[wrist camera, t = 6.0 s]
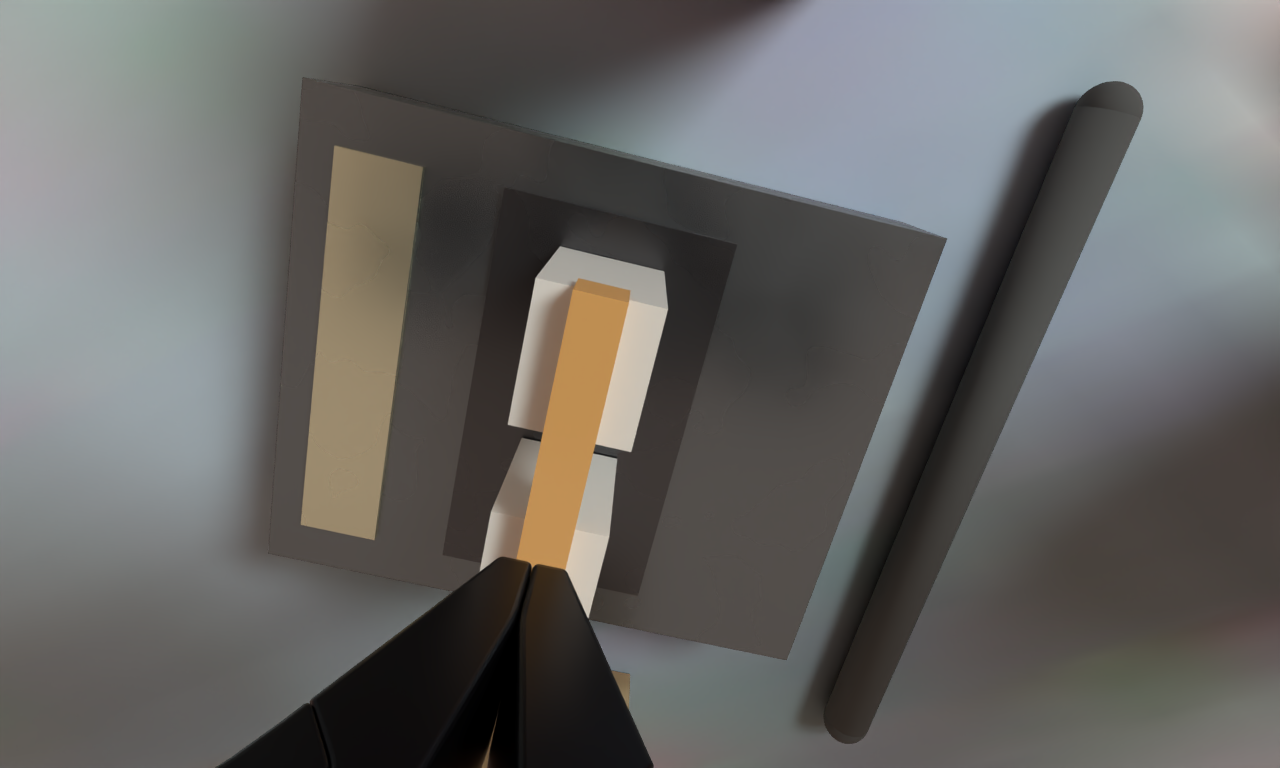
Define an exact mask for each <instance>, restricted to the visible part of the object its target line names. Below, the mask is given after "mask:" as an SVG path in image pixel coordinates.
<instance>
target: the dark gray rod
mask: <svg viewBox="0 0 1280 768" xmlns="http://www.w3.org/2000/svg"><path fill="white" fill-rule="evenodd" d="M1142 114H1143V101H1142V98H1141V95H1140V94H1139V92H1138V91H1137V90H1136V89H1135V88H1134V87H1132V86H1131V85H1129V84H1127V83H1124V82H1118V81H1113V82H1105V83H1102V84H1099V85H1097V86H1095V87H1093V88H1091V89H1090V90H1088V91H1087V92H1086V93H1085V94H1084V95H1082V97H1081V98H1080V99H1079V100H1078V102H1077V104H1076V106H1075V108H1074V110H1073V112H1072V115H1071V117H1070V119H1069V122H1068V124H1067V127H1066V129H1065V131H1064V134H1063V136H1062V139H1061V141H1060V144H1059V146H1058V148H1057V151H1056V153H1055V156H1054V158H1053V160H1052V163H1051V165H1050V168H1049V170H1048V172H1047V175H1046V177H1045V180H1044V182H1043V185H1042V187H1041V189H1040V192H1039V194H1038V197H1037V199H1036V201H1035V204H1034V206H1033V209H1032V211H1031V213H1030V216H1029V218H1028V221H1027V223H1026V226H1025V228H1024V230H1023V233H1022V235H1021V238H1020V240H1019V242H1018V245H1017V247H1016V250H1015V252H1014V254H1013V257H1012V259H1011V262H1010V264H1009V266H1008V269H1007V271H1006V274H1005V276H1004V279H1003V281H1002V283H1001V286H1000V288H999V291H998V293H997V295H996V298H995V300H994V303H993V305H992V307H991V310H990V312H989V315H988V317H987V320H986V322H985V324H984V327H983V329H982V332H981V334H980V336H979V339H978V341H977V344H976V346H975V348H974V351H973V353H972V356H971V358H970V361H969V363H968V365H967V368H966V370H965V373H964V375H963V377H962V380H961V382H960V385H959V387H958V389H957V392H956V394H955V397H954V399H953V402H952V404H951V406H950V409H949V411H948V414H947V416H946V418H945V421H944V423H943V426H942V428H941V430H940V433H939V435H938V438H937V440H936V442H935V445H934V447H933V450H932V452H931V455H930V457H929V459H928V462H927V464H926V467H925V469H924V471H923V474H922V476H921V479H920V481H919V483H918V486H917V488H916V491H915V493H914V496H913V498H912V500H911V503H910V505H909V508H908V510H907V512H906V515H905V517H904V520H903V522H902V524H901V527H900V529H899V532H898V534H897V537H896V539H895V541H894V544H893V546H892V549H891V551H890V553H889V556H888V558H887V561H886V563H885V565H884V568H883V570H882V573H881V575H880V578H879V580H878V582H877V585H876V587H875V590H874V592H873V594H872V597H871V599H870V602H869V604H868V606H867V609H866V611H865V614H864V616H863V618H862V621H861V623H860V626H859V628H858V631H857V633H856V635H855V638H854V640H853V643H852V645H851V647H850V650H849V652H848V655H847V657H846V659H845V662H844V664H843V667H842V669H841V672H840V674H839V676H838V679H837V681H836V684H835V686H834V688H833V691H832V693H831V696H830V698H829V700H828V703H827V705H826V708H825V711H824V723H825V726H826V729H827V731H828V732H829V734H830V735H831V736H832V737H833V738H835V739H836V740H837V741H839V742H842V743H845V744H852V743H856V742H858V741H860V740H861V739H863V738H864V736H865V735H866V733H867V731H868V729H869V727H870V725H871V722H872V720H873V718H874V716H875V713H876V711H877V709H878V707H879V704H880V702H881V700H882V698H883V696H884V693H885V691H886V689H887V687H888V684H889V682H890V680H891V678H892V675H893V673H894V671H895V669H896V666H897V664H898V662H899V660H900V657H901V655H902V653H903V651H904V648H905V646H906V644H907V642H908V640H909V637H910V635H911V633H912V631H913V628H914V626H915V624H916V622H917V619H918V617H919V615H920V613H921V610H922V608H923V606H924V604H925V601H926V599H927V597H928V595H929V592H930V590H931V588H932V586H933V584H934V581H935V579H936V577H937V575H938V572H939V570H940V568H941V566H942V563H943V561H944V559H945V557H946V554H947V552H948V550H949V548H950V545H951V543H952V541H953V539H954V536H955V534H956V532H957V530H958V528H959V525H960V523H961V521H962V519H963V516H964V514H965V512H966V510H967V507H968V505H969V503H970V501H971V498H972V496H973V494H974V492H975V489H976V487H977V485H978V483H979V480H980V478H981V476H982V474H983V472H984V469H985V467H986V465H987V463H988V460H989V458H990V456H991V454H992V451H993V449H994V447H995V445H996V442H997V440H998V438H999V436H1000V433H1001V431H1002V429H1003V427H1004V424H1005V422H1006V420H1007V418H1008V416H1009V413H1010V411H1011V409H1012V407H1013V404H1014V402H1015V400H1016V398H1017V395H1018V393H1019V391H1020V389H1021V386H1022V384H1023V382H1024V380H1025V377H1026V375H1027V373H1028V371H1029V368H1030V366H1031V364H1032V362H1033V360H1034V357H1035V355H1036V353H1037V351H1038V348H1039V346H1040V344H1041V342H1042V339H1043V337H1044V335H1045V333H1046V330H1047V328H1048V326H1049V324H1050V321H1051V319H1052V317H1053V315H1054V312H1055V310H1056V308H1057V306H1058V304H1059V301H1060V299H1061V297H1062V295H1063V292H1064V290H1065V288H1066V286H1067V283H1068V281H1069V279H1070V277H1071V274H1072V272H1073V270H1074V268H1075V265H1076V263H1077V261H1078V259H1079V256H1080V254H1081V252H1082V250H1083V248H1084V245H1085V243H1086V241H1087V239H1088V236H1089V234H1090V232H1091V230H1092V227H1093V225H1094V223H1095V221H1096V218H1097V216H1098V214H1099V212H1100V209H1101V207H1102V205H1103V203H1104V200H1105V198H1106V196H1107V194H1108V192H1109V189H1110V187H1111V185H1112V183H1113V180H1114V178H1115V176H1116V174H1117V171H1118V169H1119V167H1120V165H1121V162H1122V160H1123V158H1124V156H1125V153H1126V151H1127V149H1128V147H1129V145H1130V142H1131V140H1132V138H1133V136H1134V133H1135V131H1136V129H1137V127H1138V124H1139V122H1140V120H1141V117H1142Z"/></svg>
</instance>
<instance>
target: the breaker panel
mask: <svg viewBox="0 0 1280 768" xmlns="http://www.w3.org/2000/svg"><path fill="white" fill-rule="evenodd" d="M946 240H947V238H944V237H941V236H938V235H936V234H933V233H930V232H927V231H925V230H922V229H919V228H916V227H914V226H911V225H908V224H906V223H903V222H899V221H895V220H891V219H887V218H883V217H879V216H875V215H871V214H867V213H863V212H859V211H855V210H851V209H847V208H843V207H839V206H835V205H831V204H827V203H823V202H819V201H815V200H811V199H807V198H803V197H799V196H795V195H791V194H787V193H783V192H779V191H775V190H771V189H767V188H763V187H759V186H755V185H751V184H747V183H743V182H739V181H735V180H732V179H728V178H724V177H720V176H716V175H712V174H708V173H704V172H700V171H696V170H692V169H688V168H684V167H680V166H676V165H672V164H668V163H664V162H660V161H656V160H652V159H648V158H644V157H640V156H636V155H632V154H628V153H624V152H620V151H616V150H612V149H608V148H604V147H600V146H596V145H592V144H588V143H584V142H580V141H576V140H572V139H568V138H564V137H560V136H556V135H552V134H548V133H544V132H540V131H536V130H532V129H528V128H524V127H520V126H516V125H512V124H508V123H504V122H500V121H496V120H492V119H488V118H484V117H480V116H476V115H472V114H468V113H464V112H460V111H456V110H452V109H448V108H444V107H440V106H436V105H432V104H428V103H425V102H421V101H417V100H413V99H409V98H405V97H401V96H397V95H393V94H389V93H385V92H381V91H377V90H373V89H369V88H365V87H361V86H356V85H350V84H343V83H336V82H330V81H323V80H317V79H310V78H303V80H302V94H301V108H300V122H299V136H298V149H297V163H296V177H295V191H294V205H293V219H292V232H291V246H290V260H289V274H288V288H287V302H286V315H285V329H284V343H283V357H282V371H281V385H280V398H279V412H278V426H277V440H276V454H275V467H274V481H273V495H272V509H271V523H270V537H269V550H268V553H269V554H274V555H278V556H283V557H288V558H293V559H298V560H303V561H308V562H312V563H317V564H322V565H327V566H332V567H337V568H341V569H346V570H351V571H356V572H361V573H366V574H371V575H375V576H380V577H385V578H390V579H395V580H400V581H405V582H409V583H414V584H419V585H424V586H429V587H434V588H439V589H443V590H448V591H455V590H456V589H457V588H459V587H460V586H461V585H463V584H464V583H465V582H467V581H468V580H469V579H471V578H472V577H473V576H475V575H476V574H477V573H479V572H480V567H481V562H482V556H483V551H484V546H485V541H486V535H487V530H488V525H489V520H490V514H491V510H492V508H493V506H494V503H495V501H496V499H497V496H498V494H499V491H500V489H501V487H502V484H503V482H504V479H505V477H506V475H507V472H508V470H509V467H510V465H511V463H512V460H513V458H514V455H515V453H516V451H517V448H518V446H519V443H520V441H521V439H522V438H525V439H530V440H534V441H539V442H541V439H542V434H543V432H538V431H534V430H529V429H525V428H520V427H516V426H511V425H508V420H509V415H510V410H511V404H512V399H513V394H514V389H515V383H516V378H517V373H518V368H519V362H520V357H521V352H522V347H523V341H524V336H525V331H526V326H527V320H528V315H529V310H530V305H531V299H532V294H533V289H534V284H535V278H536V277H537V275H538V274H539V273H540V271H541V270H542V269H543V268H544V266H545V265H546V264H547V262H548V261H549V260H550V259H551V257H552V256H553V255H554V253H555V252H556V251H557V250H558V248H559V247H560V246H561V247H565V248H569V249H573V250H577V251H581V252H586V253H590V254H594V255H598V256H602V257H606V258H611V259H615V260H619V261H623V262H627V263H631V264H636V265H640V266H644V267H648V268H652V269H656V270H660V271H664V274H665V284H666V294H667V304H668V311H667V315H666V319H665V323H664V327H663V331H662V335H661V338H660V342H659V346H658V350H657V354H656V358H655V362H654V366H653V369H652V373H651V377H650V381H649V385H648V389H647V393H646V397H645V400H644V404H643V408H642V412H641V416H640V420H639V424H638V428H637V431H636V435H635V439H634V443H633V447H632V451H631V452H628V451H624V450H619V449H615V448H610V447H606V446H601V445H597V444H595V448H594V452H593V454H598V455H602V456H607V457H611V458H616V459H617V465H616V475H615V485H614V495H613V505H612V515H611V525H610V535H609V540H608V544H607V548H606V552H605V556H604V559H603V563H602V567H601V571H600V575H599V579H598V583H597V587H596V590H595V594H594V598H593V602H592V606H591V610H590V614H589V618H588V619H589V620H594V621H599V622H604V623H608V624H613V625H618V626H623V627H628V628H633V629H638V630H642V631H647V632H652V633H657V634H662V635H667V636H672V637H676V638H681V639H686V640H691V641H696V642H701V643H706V644H710V645H715V646H720V647H725V648H730V649H735V650H739V651H744V652H749V653H754V654H759V655H764V656H769V657H773V658H778V659H783V660H787V658H788V655H789V653H790V650H791V648H792V645H793V642H794V640H795V637H796V634H797V632H798V629H799V627H800V624H801V621H802V619H803V616H804V613H805V611H806V608H807V606H808V603H809V600H810V598H811V595H812V592H813V590H814V587H815V585H816V582H817V579H818V577H819V574H820V571H821V569H822V566H823V564H824V561H825V558H826V556H827V553H828V550H829V548H830V545H831V542H832V540H833V537H834V535H835V532H836V529H837V527H838V524H839V521H840V519H841V516H842V514H843V511H844V508H845V506H846V503H847V500H848V498H849V495H850V493H851V490H852V487H853V485H854V482H855V479H856V477H857V474H858V472H859V469H860V466H861V464H862V461H863V458H864V456H865V453H866V451H867V448H868V445H869V443H870V440H871V437H872V435H873V432H874V429H875V427H876V424H877V422H878V419H879V416H880V414H881V411H882V408H883V406H884V403H885V401H886V398H887V395H888V393H889V390H890V387H891V385H892V382H893V380H894V377H895V374H896V372H897V369H898V366H899V364H900V361H901V359H902V356H903V353H904V351H905V348H906V345H907V343H908V340H909V338H910V335H911V332H912V330H913V327H914V324H915V322H916V319H917V316H918V314H919V311H920V309H921V306H922V303H923V301H924V298H925V295H926V293H927V290H928V288H929V285H930V282H931V280H932V277H933V274H934V272H935V269H936V267H937V264H938V261H939V259H940V256H941V253H942V251H943V248H944V246H945V243H946Z"/></svg>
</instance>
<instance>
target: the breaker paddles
mask: <svg viewBox="0 0 1280 768" xmlns="http://www.w3.org/2000/svg"><path fill="white" fill-rule="evenodd" d="M667 311H668V304H667V294H666V284H665V274H664V271H660V270H656V269H652V268H648V267H644V266H640V265H636V264H631V263H627V262H623V261H619V260H615V259H611V258H606V257H602V256H598V255H594V254H590V253H586V252H581V251H577V250H573V249H569V248H565V247H561V246H560V247H559V248H558V250H557V251H556V252H555V253H554V255H553V256H552V257H551V259H550V260H549V261H548V262H547V264H546V265H545V266H544V268H543V269H542V270H541V271H540V273H539V274H538V275H537V277H536V278H535V284H534V289H533V294H532V299H531V305H530V310H529V315H528V320H527V326H526V331H525V336H524V341H523V347H522V352H521V357H520V362H519V368H518V373H517V378H516V383H515V389H514V394H513V399H512V404H511V410H510V415H509V420H508V425H511V426H516V427H520V428H525V429H529V430H534V431H538V432H543V434H542V439H541V442H539V441H534V440H530V439H525V438H522V439H521V441H520V443H519V446H518V448H517V451H516V453H515V455H514V458H513V460H512V463H511V465H510V467H509V470H508V472H507V475H506V477H505V479H504V482H503V484H502V487H501V489H500V491H499V494H498V496H497V499H496V501H495V503H494V506H493V508H492V510H491V514H490V520H489V525H488V530H487V535H486V541H485V546H484V551H483V556H482V562H481V567H480V571H481V570H483V569H484V568H485V567H486V566H488V565H489V564H490V563H492V562H493V561H494V560H496V559H497V558H499V557H502V556H504V557H509V558H513V559H518V560H523V561H527V562H529V563H530V564H531V565H532V568H533V567H534V566H535V565H537V564H542V565H547V566H552V567H557V568H561V569H564V570H566V571H567V573H568V575H569V577H570V579H571V582H572V584H573V586H574V588H575V590H576V593H577V595H578V597H579V599H580V602H581V604H582V606H583V608H584V611H585V613H586V615H587V617H588V618H589V614H590V610H591V606H592V602H593V598H594V594H595V590H596V587H597V583H598V579H599V575H600V571H601V567H602V563H603V559H604V556H605V552H606V548H607V544H608V540H609V535H610V525H611V515H612V505H613V495H614V485H615V475H616V465H617V459H616V458H611V457H607V456H602V455H598V454H593V452H594V448H595V444H597V445H601V446H606V447H610V448H615V449H619V450H624V451H628V452H631V451H632V447H633V443H634V439H635V435H636V431H637V428H638V424H639V420H640V416H641V412H642V408H643V404H644V400H645V397H646V393H647V389H648V385H649V381H650V377H651V373H652V369H653V366H654V362H655V358H656V354H657V350H658V346H659V342H660V338H661V335H662V331H663V327H664V323H665V319H666V315H667Z"/></svg>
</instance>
